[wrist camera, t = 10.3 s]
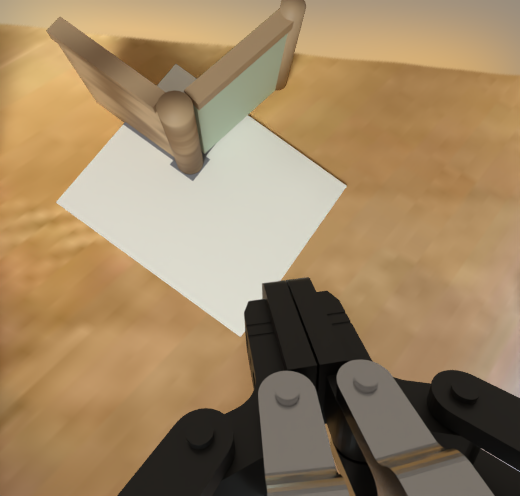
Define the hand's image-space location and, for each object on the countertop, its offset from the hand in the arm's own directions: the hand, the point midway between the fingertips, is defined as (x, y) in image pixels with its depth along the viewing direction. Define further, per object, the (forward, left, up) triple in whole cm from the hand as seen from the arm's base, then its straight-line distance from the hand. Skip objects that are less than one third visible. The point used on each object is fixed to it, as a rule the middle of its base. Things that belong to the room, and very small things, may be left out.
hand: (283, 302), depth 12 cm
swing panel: (+11, -14, -20) cm, 27 cm away
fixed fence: (+17, -7, -21) cm, 28 cm away
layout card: (+9, -6, -21) cm, 24 cm away
